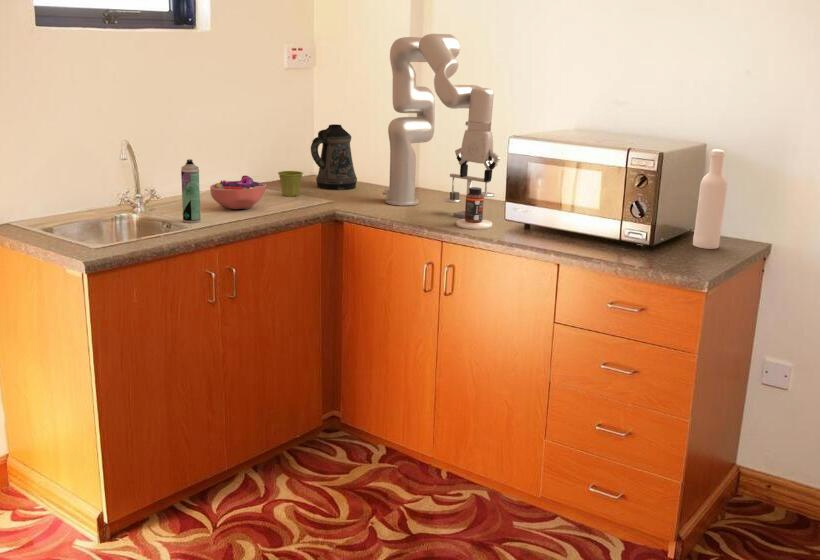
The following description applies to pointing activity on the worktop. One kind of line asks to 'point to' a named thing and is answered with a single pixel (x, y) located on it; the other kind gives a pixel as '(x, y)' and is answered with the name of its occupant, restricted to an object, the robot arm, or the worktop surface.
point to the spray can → (190, 192)
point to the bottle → (711, 205)
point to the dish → (474, 224)
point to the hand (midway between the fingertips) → (475, 179)
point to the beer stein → (334, 159)
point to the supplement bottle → (474, 205)
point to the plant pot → (290, 182)
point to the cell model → (238, 193)
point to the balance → (455, 195)
